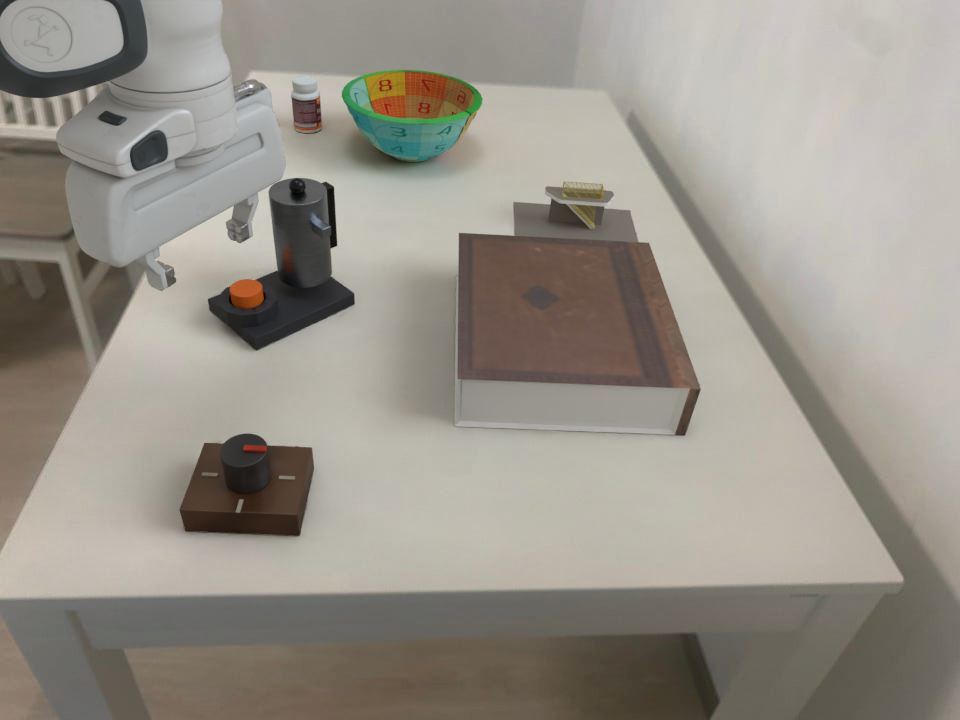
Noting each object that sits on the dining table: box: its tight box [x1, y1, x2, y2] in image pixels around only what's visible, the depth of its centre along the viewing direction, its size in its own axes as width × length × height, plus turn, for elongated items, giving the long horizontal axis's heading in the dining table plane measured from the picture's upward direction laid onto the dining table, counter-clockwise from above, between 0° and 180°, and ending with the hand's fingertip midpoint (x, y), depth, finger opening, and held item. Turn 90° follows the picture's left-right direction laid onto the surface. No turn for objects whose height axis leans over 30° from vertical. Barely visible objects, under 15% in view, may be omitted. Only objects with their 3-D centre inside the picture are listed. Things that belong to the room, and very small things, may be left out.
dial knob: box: [220, 432, 272, 493], centre depth 68 cm, size 4×4×4 cm
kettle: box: [268, 177, 338, 288], centre depth 89 cm, size 8×8×12 cm
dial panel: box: [178, 442, 315, 537], centre depth 70 cm, size 10×8×3 cm
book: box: [453, 232, 702, 436], centre depth 89 cm, size 24×28×6 cm
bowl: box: [341, 69, 483, 163], centre depth 126 cm, size 22×22×10 cm
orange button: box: [230, 278, 264, 309], centre depth 88 cm, size 4×4×2 cm
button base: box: [207, 270, 356, 351], centre depth 92 cm, size 15×10×4 cm
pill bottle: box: [290, 75, 323, 134], centre depth 131 cm, size 5×5×8 cm
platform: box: [513, 180, 639, 242], centre depth 112 cm, size 12×18×7 cm, turn 89°
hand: (203, 260), depth 68 cm, fingers open, 8 cm apart
